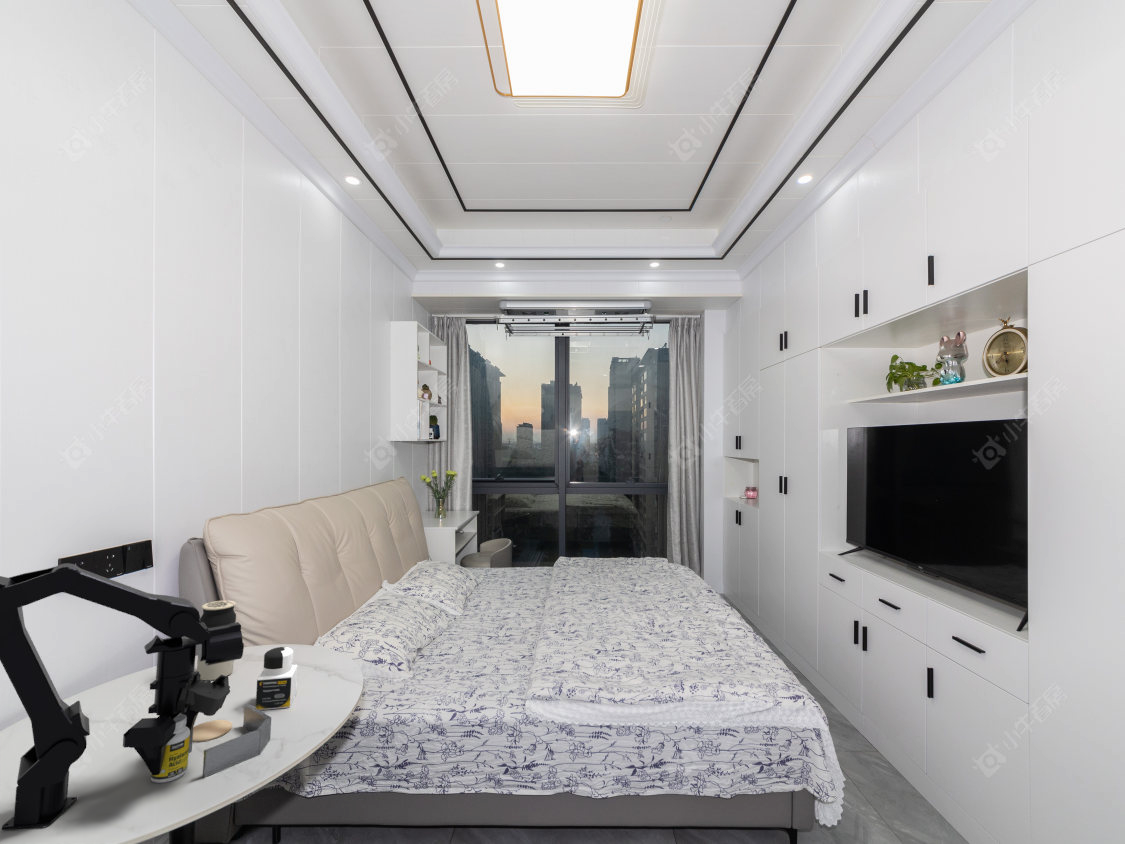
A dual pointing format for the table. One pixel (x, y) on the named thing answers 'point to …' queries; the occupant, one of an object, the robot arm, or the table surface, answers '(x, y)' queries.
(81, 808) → the table surface
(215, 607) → the travel mug
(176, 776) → the supplement bottle
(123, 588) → the robot arm
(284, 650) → the medicine bottle
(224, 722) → the coaster
